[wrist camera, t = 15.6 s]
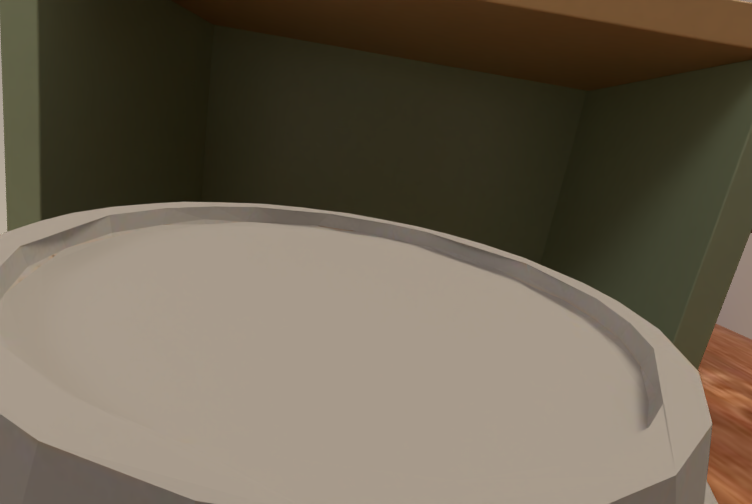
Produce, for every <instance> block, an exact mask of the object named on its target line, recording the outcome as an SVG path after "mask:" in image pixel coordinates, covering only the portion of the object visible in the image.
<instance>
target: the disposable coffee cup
mask: <svg viewBox="0 0 752 504" xmlns="http://www.w3.org/2000/svg"><path fill="white" fill-rule="evenodd" d="M711 432H712V420H711V417H710V413H709V409H708V405H707V401H706V398H705V394H704V390H703V386H702V382H701V379H700V375H699V372H698V370H697V369H696V368H695V367H694V366H693V365H692V364H691V363H690V362H689V361H688V360H687V359H686V358H685V356H684V355H683V354H682V353H681V352H680V351H679V350H678V349H677V348H676V347H675V346H674V345H673V344H672V343H671V341H670V340H669V339H668V338H667V337H666V336H665V335H664V334H663V333H662V332H661V331H660V330H659V329H658V328H657V327H655V326H654V325H652V324H651V323H649V322H648V321H646V320H645V319H643V318H642V317H640V316H639V315H637V314H636V313H635V312H633V311H632V310H630V309H629V308H627V307H626V306H624V305H623V304H621V303H620V302H618V301H617V300H615V299H613V298H611V297H609V296H607V295H605V294H603V293H601V292H600V291H598V290H596V289H594V288H592V287H590V286H588V285H586V284H585V283H582V282H580V281H578V280H575V279H573V278H571V277H568V276H566V275H564V274H561V273H559V272H556V271H554V270H552V269H549V268H547V267H545V266H542V265H540V264H538V263H535V262H533V261H531V260H528V259H526V258H523V257H520V256H517V255H514V254H511V253H508V252H505V251H502V250H499V249H496V248H493V247H491V246H488V245H485V244H481V243H478V242H474V241H471V240H467V239H464V238H460V237H457V236H453V235H450V234H446V233H442V232H438V231H434V230H430V229H426V228H422V227H418V226H413V225H408V224H403V223H398V222H393V221H388V220H382V219H377V218H372V217H366V216H361V215H356V214H350V213H343V212H335V211H326V210H318V209H310V208H302V207H292V206H281V205H271V204H255V203H226V202H170V203H153V204H141V205H128V206H116V207H108V208H102V209H95V210H88V211H82V212H75V213H70V214H66V215H62V216H58V217H54V218H50V219H46V220H42V221H39V222H36V223H33V224H29V225H26V226H23V227H20V228H17V229H14V230H11V231H8V232H5V233H3V234H1V235H0V504H718V503H717V501H716V499H715V497H714V495H713V492H712V490H711V488H710V486H709V484H708V482H707V471H708V461H709V452H710V442H711Z"/></svg>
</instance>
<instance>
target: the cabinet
mask: <svg viewBox="0 0 752 504" xmlns="http://www.w3.org/2000/svg"><path fill="white" fill-rule="evenodd" d="M0 24H1V25H0V26H1V56H2V84H3V115H4V144H5V173H6V202H7V232H8V231H11V230H14V229H17V228H20V227H23V226H26V225H29V224H33V223H36V222H39V221H42V220H46V219H50V218H54V217H58V216H62V215H66V214H70V213H75V212H82V211H88V210H95V209H102V208H108V207H116V206H128V205H141V204H153V203H170V202H226V203H255V204H271V205H281V206H292V207H302V208H310V209H318V210H326V211H335V212H343V213H350V214H356V215H361V216H366V217H372V218H377V219H382V220H388V221H393V222H398V223H403V224H408V225H413V226H418V227H422V228H426V229H430V230H434V231H438V232H442V233H446V234H450V235H453V236H457V237H460V238H464V239H467V240H471V241H474V242H478V243H481V244H485V245H488V246H491V247H493V248H496V249H499V250H502V251H505V252H508V253H511V254H514V255H517V256H520V257H523V258H526V259H528V260H531V261H533V262H535V263H538V264H540V265H542V266H545V267H547V268H549V269H552V270H554V271H556V272H559V273H561V274H564V275H566V276H568V277H571V278H573V279H575V280H578V281H580V282H582V283H585V284H586V285H588V286H590V287H592V288H594V289H596V290H598V291H600V292H601V293H603V294H605V295H607V296H609V297H611V298H613V299H615V300H617V301H618V302H620V303H621V304H623V305H624V306H626V307H627V308H629V309H630V310H632V311H633V312H635V313H636V314H637V315H639V316H640V317H642V318H643V319H645V320H646V321H648V322H649V323H651V324H652V325H654V326H655V327H657V328H658V329H659V330H660V331H661V332H662V333H663V334H664V335H665V336H666V337H667V338H668V339H669V340H670V341H671V343H672V344H673V345H674V346H675V347H676V348H677V349H678V350H679V351H680V352H681V353H682V354H683V355H684V356H685V358H686V359H687V360H688V361H689V362H690V363H691V364H692V365H693V366H694V367H695V368H696V369H697V370H698V368H699V365H700V362H701V360H702V357H703V355H704V352H705V349H706V347H707V344H708V342H709V339H710V336H711V334H712V331H713V329H714V326H715V323H716V321H717V318H718V316H719V313H720V310H721V308H722V305H723V303H724V300H725V297H726V294H727V292H728V290H729V287H730V284H731V282H732V279H733V277H734V274H735V271H736V269H737V266H738V263H739V261H740V258H741V256H742V253H743V251H744V248H745V245H746V243H747V240H748V238H749V235H750V232H751V230H752V3H750V2H745V1H739V0H0Z"/></svg>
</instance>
